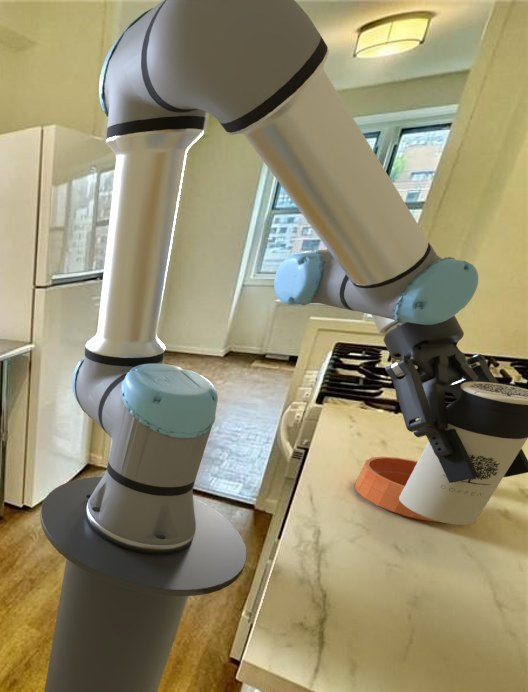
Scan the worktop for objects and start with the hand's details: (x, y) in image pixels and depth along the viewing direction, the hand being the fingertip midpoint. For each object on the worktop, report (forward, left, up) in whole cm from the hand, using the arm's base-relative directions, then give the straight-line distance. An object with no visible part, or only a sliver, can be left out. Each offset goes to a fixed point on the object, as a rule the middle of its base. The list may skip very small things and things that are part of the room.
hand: (490, 476), depth 62 cm
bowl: (-5, +16, -13) cm, 21 cm away
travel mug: (-3, +2, -8) cm, 8 cm away
